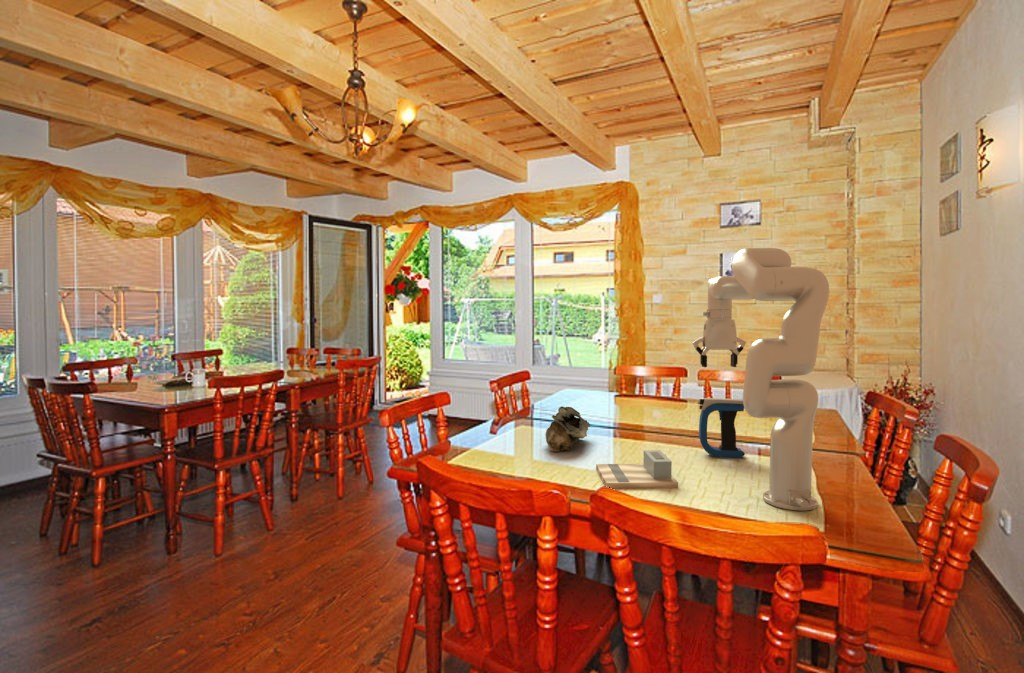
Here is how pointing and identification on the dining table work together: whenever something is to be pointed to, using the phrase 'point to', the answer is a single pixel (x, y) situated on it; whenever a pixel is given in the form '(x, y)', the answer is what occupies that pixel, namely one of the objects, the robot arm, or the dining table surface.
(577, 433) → the hollow geode rock
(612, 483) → the subfloor panel
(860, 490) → the dining table surface
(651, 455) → the block
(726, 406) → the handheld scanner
